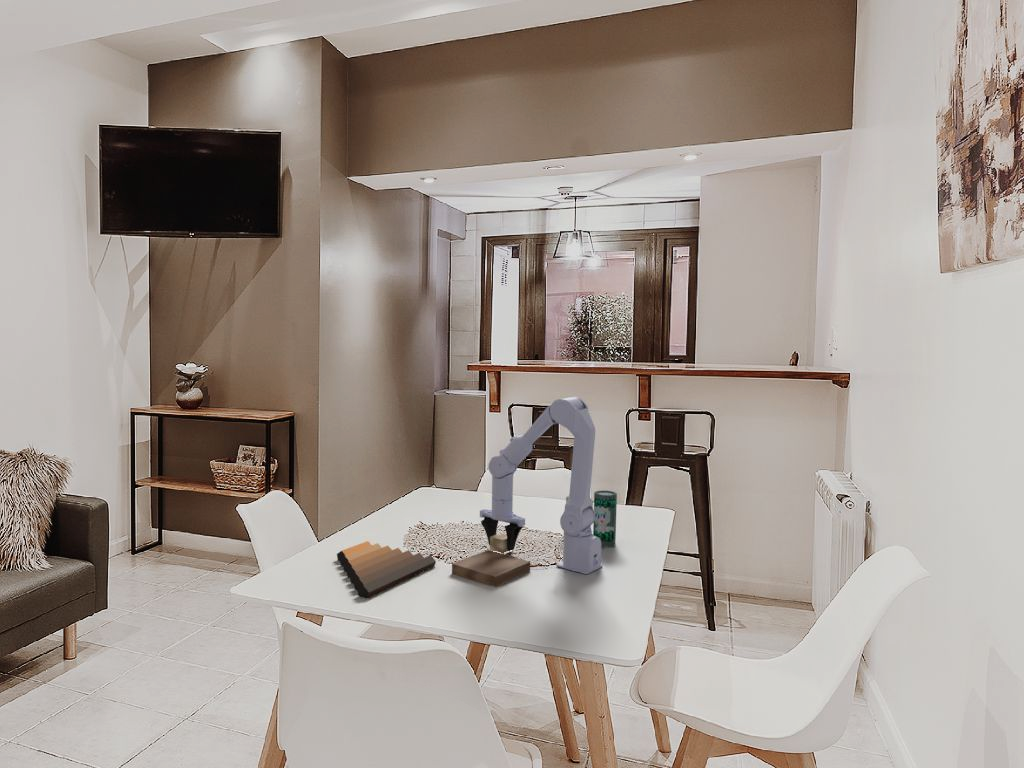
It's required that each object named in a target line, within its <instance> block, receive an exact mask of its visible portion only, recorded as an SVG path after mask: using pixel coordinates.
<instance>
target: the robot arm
mask: <svg viewBox="0 0 1024 768" xmlns="http://www.w3.org/2000/svg"><path fill="white" fill-rule="evenodd" d="M556 424H558V425H560V426H562V427H564V428H566V429H567V430H568V431H569V432H570V433H571V435H572V436H573V447H572V460H571V470H570V471H571V472H570V484H569V495H568V496H569V498H568V500H567V502H566V501H565V505H564V510H563V513H562V515H561V516H560V520H559V521H560V522H559V524H560V528H561V529H562V530H563V542H562V543H563V546H562V547H563V548H562V549H563V550H562V552H563V554H562V555H563V556H562V561H560V562H558V563H556V565H555V566H556V567H558V568H563V569H566V570H570V571H573V572H577V573H579V574H580V573H581V574H584V575H588V574H591V573H593V572H594V571H596V570H598V569H601V568H602V567H603V564H602V547H601V540H600V538H598V537H596V536H594V535H593V531H592V526H593V525H594V521H595V512H594V500H593V499H592V498H591V487H592V475H593V473H592V472H593V464H594V463H593V462H594V452H595V441H596V427H595V425H594V422H593V420H592V417H591V414H590V413H589V405H588V404H586V402H585V401H584V400H583V399H582V398H580V397H578V396H574V395H573V396H569V397H566V398H557V399H556V400H554V401H553V402H551V404H550V405H548V406H547V407H546V408H545V409H544V411H543V412H542V413H541V414H540V415H539V417H537V419H536V420H535V421H534V422H533V423H532V424H531V426H529V428H528V429H527V431H525V433H524V434H523V435H521V434H519V435H516V436H512V437H511V438H510V439H509V442H510V443H509V444H508V445H507V446H506V447H504V448H502V449H500V451H499V455H495V456H493V457H491V459H490V460H489V463H488V471H489V473H490V474H491V476H492V477H491V509H480V510H479V518H482V519H483V520H480V523H481V526H482V527H483V529H484V531H485V533H486V538H487V541H488V542H487V543H488V546H490V537H491V536H494V535H497V531H498V529H497V528H498V526H499V522H502V523H506V525H504V530H505V534H506V535H507V548H508V550H509V551H510V550H513V551H514V550H515V547H516V543H517V539H518V536H519V535H520V533H521V530H522V529H523V527H524V526H526V518H525V517H522V516H519V515H517V514H514V512H513V508H514V507H513V505H514V504H513V499H514V496H513V494H514V493H513V492H514V474H515V473H516V471H517V468H518V465H520V464H521V463H522V462H523V460H525V458H526V457H528V455H529V454H531V452H532V451H533V444H534V443H535V442H536V441H537V440H538V439H540V438H541V436H542V435H543V434H544V433H545V432H546V431H547V430H548V429H550V427H552V426H553V425H556Z"/></svg>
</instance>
